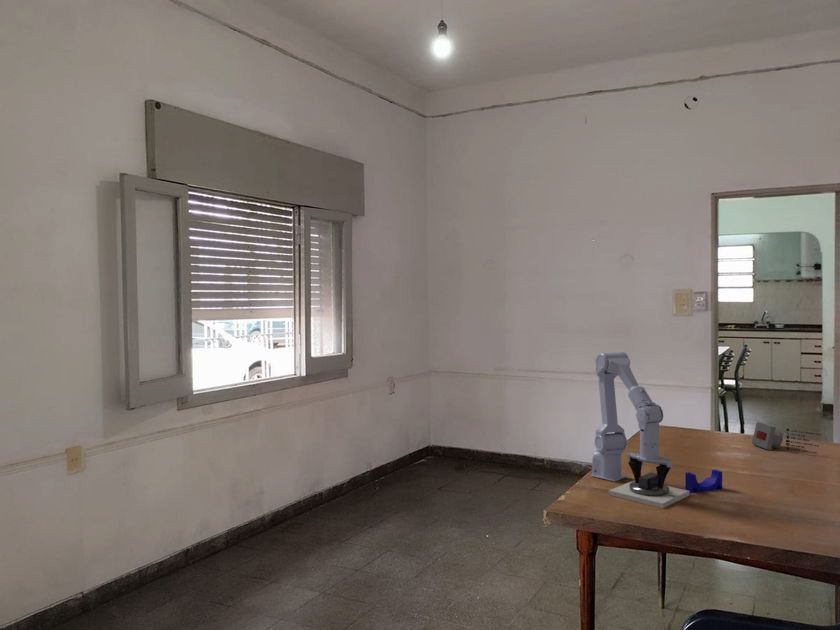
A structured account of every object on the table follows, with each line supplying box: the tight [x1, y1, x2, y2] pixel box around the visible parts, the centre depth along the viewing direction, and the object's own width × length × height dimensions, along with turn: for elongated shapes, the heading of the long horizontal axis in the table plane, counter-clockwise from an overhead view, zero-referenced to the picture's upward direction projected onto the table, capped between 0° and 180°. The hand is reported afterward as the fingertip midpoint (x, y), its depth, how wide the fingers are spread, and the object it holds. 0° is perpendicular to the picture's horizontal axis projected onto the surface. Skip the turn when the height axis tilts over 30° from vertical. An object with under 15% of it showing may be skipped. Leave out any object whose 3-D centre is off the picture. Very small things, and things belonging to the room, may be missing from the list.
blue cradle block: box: [684, 469, 723, 494], centre depth 212 cm, size 12×4×6 cm, turn 107°
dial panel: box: [608, 479, 690, 509], centre depth 206 cm, size 18×18×2 cm
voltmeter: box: [751, 421, 822, 454], centre depth 263 cm, size 27×11×10 cm, turn 42°
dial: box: [629, 472, 669, 496], centre depth 206 cm, size 12×12×4 cm
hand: (649, 485), depth 206 cm, fingers open, 7 cm apart
